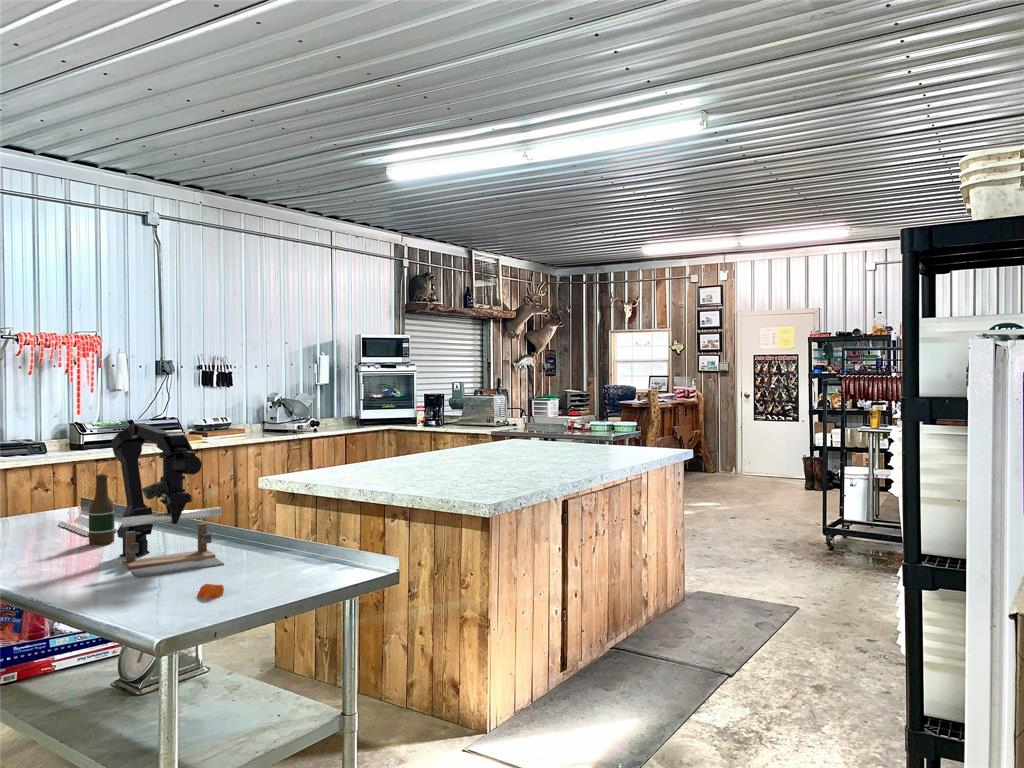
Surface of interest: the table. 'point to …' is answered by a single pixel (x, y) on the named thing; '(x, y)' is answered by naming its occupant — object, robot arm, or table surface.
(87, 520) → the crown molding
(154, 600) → the table surface
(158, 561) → the hook stand
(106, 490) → the beer bottle
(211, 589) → the rock
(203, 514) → the steel rail
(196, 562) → the rubber mat
